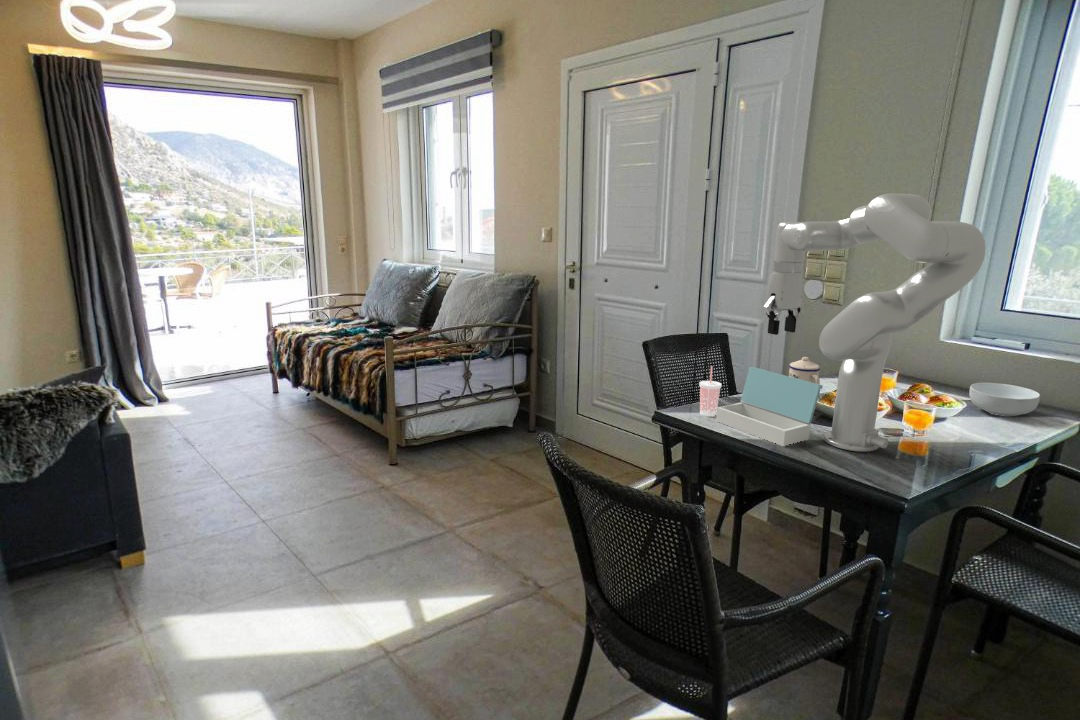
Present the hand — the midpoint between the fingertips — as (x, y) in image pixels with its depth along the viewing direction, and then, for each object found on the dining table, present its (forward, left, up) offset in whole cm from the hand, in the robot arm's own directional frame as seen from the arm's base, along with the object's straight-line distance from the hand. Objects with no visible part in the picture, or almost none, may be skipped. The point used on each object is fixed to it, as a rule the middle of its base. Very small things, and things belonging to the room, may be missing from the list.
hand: (781, 332), depth 179 cm
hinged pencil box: (-8, +15, -24) cm, 29 cm away
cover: (-8, +10, -14) cm, 19 cm away
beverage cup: (+9, +17, -24) cm, 31 cm away
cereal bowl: (-33, -59, -24) cm, 72 cm away
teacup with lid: (+8, -25, -24) cm, 35 cm away
